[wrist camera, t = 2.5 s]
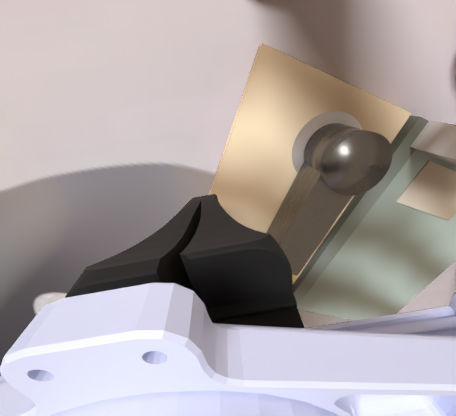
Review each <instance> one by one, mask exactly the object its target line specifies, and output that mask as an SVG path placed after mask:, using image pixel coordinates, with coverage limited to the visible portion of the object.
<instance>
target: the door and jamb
mask: <svg viewBox="0 0 456 416" xmlns="http://www.w3.org/2000/svg"><path fill="white" fill-rule="evenodd" d="M411 114H412V113H410V112H408V111H406V110H404V109H402V108H400V107H397V106H395V105H393V104H391V103H389V102H387V101H385V100H382V99H380V98H378V97H376V96H374V95H372V94H370V93H368V92H365V91H363V90H361V89H359V88H357V87H355V86H353V85H350V84H348V83H346V82H344V81H342V80H340V79H338V78H336V77H333V76H331V75H329V74H327V73H325V72H323V71H321V70H318V69H316V68H314V67H312V66H310V65H308V64H306V63H304V62H301V61H299V60H297V59H295V58H293V57H291V56H289V55H286V54H284V53H282V52H280V51H278V50H276V49H274V48H272V47H269V46H267V45H265V44H263V43H262V44H261V45H260V46H259V48H258V51H257V54H256V57H255V60H254V63H253V65H252V68H251V71H250V74H249V77H248V80H247V83H246V86H245V89H244V92H243V95H242V98H241V101H240V104H239V107H238V110H237V113H236V115H235V118H234V121H233V124H232V127H231V130H230V133H229V136H228V139H227V142H226V145H225V148H224V151H223V154H222V157H221V160H220V163H219V165H218V168H217V171H216V174H215V177H214V180H213V183H212V186H211V189H210V192H209V195H211V194H216V195H217V198H218V201H219V203H220V205H221V206H222V207H223V209H224V210H225V211H226V212H227V213H228V214H229V215H230V216H231V217H232V218H233V219H234V220H236V221H237V222H239V223H240V224H242V225H244V226H246V227H248V228H250V229H253V230H256V231H259V232H263V233H266V232H267V231H268V229H269V227H270V225H271V223H272V221H273V219H274V217H275V215H276V213H277V212H278V210H279V208H280V206H281V204H282V202H283V200H284V198H285V196H286V194H287V193H288V191H289V189H290V187H291V185H292V183H293V181H294V179H295V177H296V176H297V174H298V172H299V170H300V168H301V166H302V164H303V162H304V149H305V146H306V144H307V142H308V140H309V138H310V137H311V136H312V135H313V134H314V133H315V132H316V131H317V130H318V129H320V128H321V127H323V126H325V125H328V124H332V123H340V124H345V125H348V126H352V127H356V128H360V129H364V130H368V131H371V132H375V133H379V134H381V135H383V136H384V137H385V138H387V140H388V141H389V143H390V144H391V147H392V162H391V165H390V168H389V170H388V172H387V173H386V175H385V176H384V177H383V179H382V180H381V181H380V182H379V183H378V184H377V185H376V186H374V187H373V188H372V189H370V190H368V191H366V192H364V193H362V194H359V195H354V196H352V198H351V199H350V200H349V202H348V203H347V205H346V206H345V208H344V209H343V211H342V212H341V213H340V215H339V216H338V218H337V219H336V221H335V222H334V224H333V225H332V227H331V228H330V229H329V231H328V232H327V234H326V235H325V237H324V238H323V240H322V241H321V243H320V244H319V245H318V247H317V248H316V250H315V251H314V253H313V254H312V256H311V257H310V258H309V260H308V261H307V263H306V264H305V266H304V267H303V269H302V270H301V272H300V273H299V274H298V276H297V277H296V279H295V280H294V282H293V294H294V296H295V299H296V302H297V309H298V310H302V311H308V312H313V313H318V314H323V315H328V316H333V317H338V318H343V319H348V320H353V321H355V320H361V319H367V318H374V317H380V316H386V315H393V314H396V313H398V312H399V311H400V310H401V309H402V308H403V307H404V306H405V305H406V304H408V303H409V302H410V301H411V300H412V299H413V298H414V297H415V296H416V295H418V294H419V293H420V292H421V291H422V290H423V289H424V288H425V287H426V286H428V285H429V284H430V283H431V282H432V281H433V280H434V279H435V278H436V277H438V276H439V275H440V274H441V273H442V272H443V271H444V270H445V269H446V268H448V267H449V266H450V265H451V264H452V263H453V262H454V261H455V260H456V125H453V124H446V123H439V122H432V121H428V120H426V119H423V118H421V117H417V116H410V115H411Z"/></svg>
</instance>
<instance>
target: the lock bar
mask: <svg viewBox="0 0 456 416" xmlns="http://www.w3.org/2000/svg"><path fill="white" fill-rule="evenodd" d="M391 162H392V147H391V144H390V143H389V141H388V140H387V138H385V137H384V136H383V135H381V134H379V133H375V132H371V131H368V130H364V129H360V128H356V127H352V126H348V125H345V124H340V123H332V124H328V125H325V126H323V127H321V128H320V129H318V130H317V131H316V132H315V133H314V134H313V135H312V136H311V137H310V138H309V140H308V142H307V144H306V146H305V149H304V162H303V164H302V166H301V168H300V170H299V172H298V174H297V176H296V177H295V179H294V181H293V183H292V185H291V187H290V189H289V191H288V193H287V194H286V196H285V198H284V200H283V202H282V204H281V206H280V208H279V210H278V212H277V213H276V215H275V217H274V219H273V221H272V223H271V225H270V227H269V229H268V231H267V232H266V233H267V234H270V235H272V237H273V238H274V239H275V240H276V242H277V243H278V244H279V246H280V247H281V248H282V250H283V251H284V253H285V255H286V256H287V258H288V260H289V262H290V265H291V269H292V281H293V282H294V280H295V279H296V277H297V276H298V274H299V273H300V272H301V270H302V269H303V267H304V266H305V264H306V263H307V261H308V260H309V258H310V257H311V256H312V254H313V253H314V251H315V250H316V248H317V247H318V245H319V244H320V243H321V241H322V240H323V238H324V237H325V235H326V234H327V232H328V231H329V229H330V228H331V227H332V225H333V224H334V222H335V221H336V219H337V218H338V216H339V215H340V213H341V212H342V211H343V209H344V208H345V206H346V205H347V203H348V202H349V200H350V199H351V198H352V196H354V195H359V194H362V193H364V192H366V191H368V190H370V189H372V188H373V187H374V186H376V185H377V184H378V183H379V182H380V181H381V180H382V179H383V177H384V176H385V175H386V173H387V172H388V170H389V168H390V165H391Z"/></svg>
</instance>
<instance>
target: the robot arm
mask: <svg viewBox="0 0 456 416" xmlns="http://www.w3.org/2000/svg"><path fill="white" fill-rule="evenodd" d="M0 372H1V375H2V376H0V416H456V292H455V293H454V294H453V296H452V298H451V301H450V305H449V306H444V307H437V308H431V309H424V310H418V311H412V312H405V313H399V314H393V315H386V316H380V317H374V318H367V319H361V320H355V321H348V322H342V323H336V324H329V325H323V326H317V327H310V328H304V325H303V323H302V320H301V317H300V315H299V312H298V309H297V302H296V299H295V296H294V294H293V281H292V269H291V265H290V262H289V260H288V258H287V256H286V255H285V253H284V251H283V250H282V248H281V247H280V246H279V244H278V243H277V242H276V240H275V239H274V238H273V237H272V235H270V234H267V233H263V232H259V231H256V230H253V229H250V228H248V227H246V226H244V225H242V224H240V223H239V222H237V221H236V220H234V219H233V218H232V217H231V216H230V215H229V214H228V213H227V212H226V211H225V210H224V209H223V207H222V206H221V205H220V203H219V201H218V198H217V195H216V194H211V195H206V196H201V197H195V198H192V200H190V201H189V202H188V203H187V204H186V205H185V206H184V207H183V209H182V210H181V211H180V212H179V213H178V214H177V215H176V216H175V217H173V218H172V219H171V220H170V221H169V222H168V223H167V224H166V225H165V226H163V227H162V228H161V229H159V230H158V231H157V232H155V233H154V234H153V235H151V236H149V237H148V238H146V239H145V240H143V241H141V242H140V243H138V244H136V245H135V246H133V247H131V248H129V249H127V250H125V251H123V252H121V253H119V254H117V255H115V256H113V257H110V258H108V259H105V260H103V261H101V262H98V263H96V264H93V265H91V266H88V267H86V269H85V270H84V272H83V273H82V274H81V276H80V277H79V279H78V280H77V281H76V283H75V284H74V285H73V287H72V288H71V290H70V291H69V292H68V294H67V295H66V297H65V298H62V299H59V300H57V301H54V302H52V303H50V304H47V305H45V306H44V307H43V308H42V309H41V310H40V312H39V313H38V314H37V316H36V317H35V318H34V319H33V321H32V322H31V323H30V325H29V326H28V327H27V328H26V329H25V331H24V332H23V333H22V334H21V336H20V337H19V338H18V339H17V341H16V342H15V343H14V345H13V346H12V347H11V348H10V350H9V351H8V352H7V353H6V355H5V356H4V358H3V361H2V364H1V367H0Z"/></svg>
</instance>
